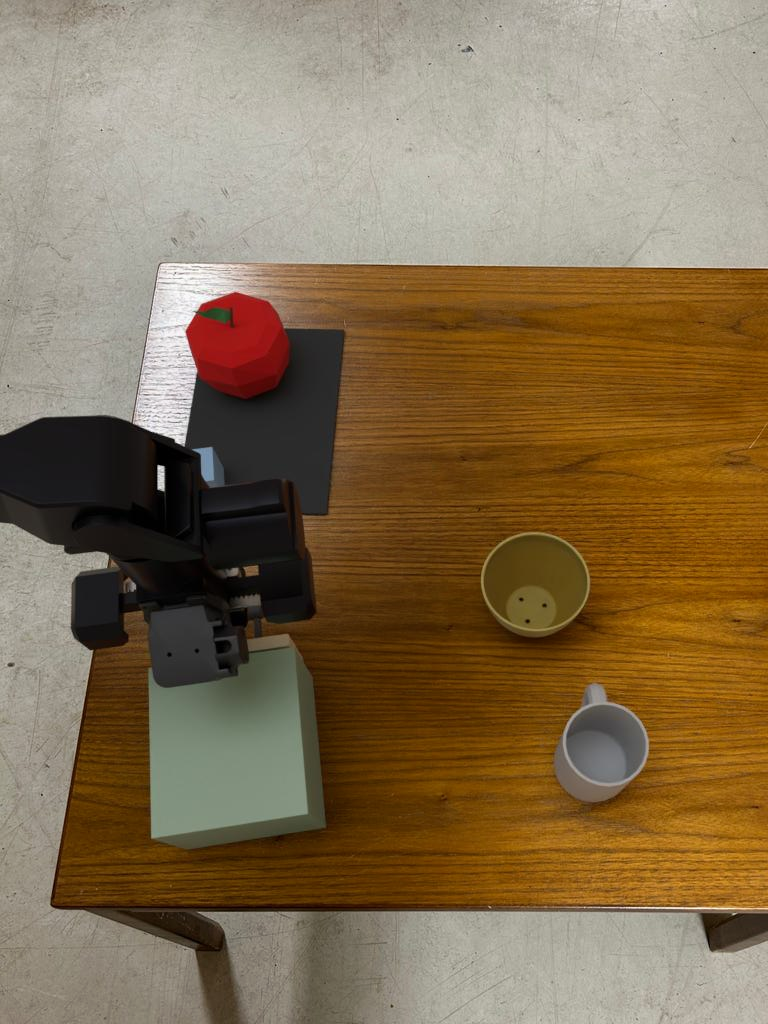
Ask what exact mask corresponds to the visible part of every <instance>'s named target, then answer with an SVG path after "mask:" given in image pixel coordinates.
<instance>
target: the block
mask: <svg viewBox="0 0 768 1024" xmlns="http://www.w3.org/2000/svg"><path fill="white" fill-rule="evenodd" d="M192 450H194V451H196V452H198V453H200V454H201V475H202V476H203V478H204V480H205V481H206V483H207V484H208V486H210V487H213V486H222V485H225V483H224V468H223V466H222V464H221V462H220V460H219V459H218V457H217V455H216V453H215V451H214V449H213V447H207V448H199V449H192Z"/></svg>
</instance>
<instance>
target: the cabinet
mask: <svg viewBox="0 0 768 1024" xmlns="http://www.w3.org/2000/svg"><path fill="white" fill-rule="evenodd" d="M147 669H148V670H147V671H148V673H147V674H148V719H149V720H148V722H149V723H148V726H149V727H148V728H149V729H148V730H149V731H148V732H149V734H148V735H149V782H150V783H149V784H150V785H149V786H150V787H149V788H150V789H149V791H150V793H149V795H150V797H149V798H150V838H151V840H155V841H157V842H161V843H164V844H167V845H170V846H173V847H174V846H175V847H177V848H180V849H184V850H187V851H188V850H193V849H200V848H205V847H206V848H207V847H212V846H213V847H214V846H219V845H225V844H231V843H238V842H245V841H250V840H257V839H264V838H270V837H275V836H282V835H289V834H294V833H300V832H308V831H314V830H319V829H320V830H321V829H326V828H327V821H326V811H325V810H326V808H325V800H324V790H323V789H324V787H323V775H322V766H321V765H322V764H321V754H320V743H319V732H318V719H317V709H316V699H315V688H314V676H313V675H312V674H311V672H310V670H309V669H308V667H307V665H306V664H305V663H304V660H303V661H302V659H301V657H300V656H299V654H298V653H297V651H296V649H295V648H294V647H291V648H284V649H277V650H270V651H263V652H256V653H249V663H248V664H242V665H239V666H238V676H235V677H228V678H223V679H221V680H218V681H212V682H206V683H199V684H192V685H185V686H178V687H171V688H163V687H161V686H159V685H158V684H157V683H156V682H155V681H154V678H153V672H152V667H148V668H147Z"/></svg>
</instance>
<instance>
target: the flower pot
mask: <svg viewBox="0 0 768 1024" xmlns="http://www.w3.org/2000/svg"><path fill="white" fill-rule="evenodd" d="M480 587H481V593H482V596H483V600H484V602H485V604H486V606H487V608H488V610H489V611H490V613H491V614H492V616H493V617H494V619H495V621H497V622H498V623H499V624H500V625H501V626H503V627H504V628H505V629H506V630H508V631H509V632H511V633H514V634H516V635H519V636H522V637H524V638H525V637H526V638H542V637H547V636H550V635H553V634H555V633H557V632H560V631H561V630H563V629H565V628H566V627H567V626H569V624H571V623H572V621H574V620H575V619H576V617H578V615H579V614H580V613H581V611H582V610H583V608H584V607H585V604H586V603H587V600H588V598H589V595H590V590H591V577H590V571H589V568H588V566H587V563H586V560H585V559H584V557H583V556H582V554H581V553H580V551H579V550H577V549H576V547H574V546H573V545H572V544H571V543H570V542H568V541H566V540H564V539H563V538H561V537H560V536H556V535H554V534H551V533H546V532H539V531H531V532H522V533H517V534H514V535H512V536H510V537H508V538H506V539H503V541H501V542H500V543H498V544H497V545H496V546H495V547H494V548H493V549H492V550H491V552H489V554H488V556H487V557H486V559H485V561H484V563H483V566H482V569H481V575H480ZM520 599H522V601H521V600H520ZM543 605H545V606H546V607H544V606H543ZM526 621H529V622H526Z"/></svg>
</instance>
